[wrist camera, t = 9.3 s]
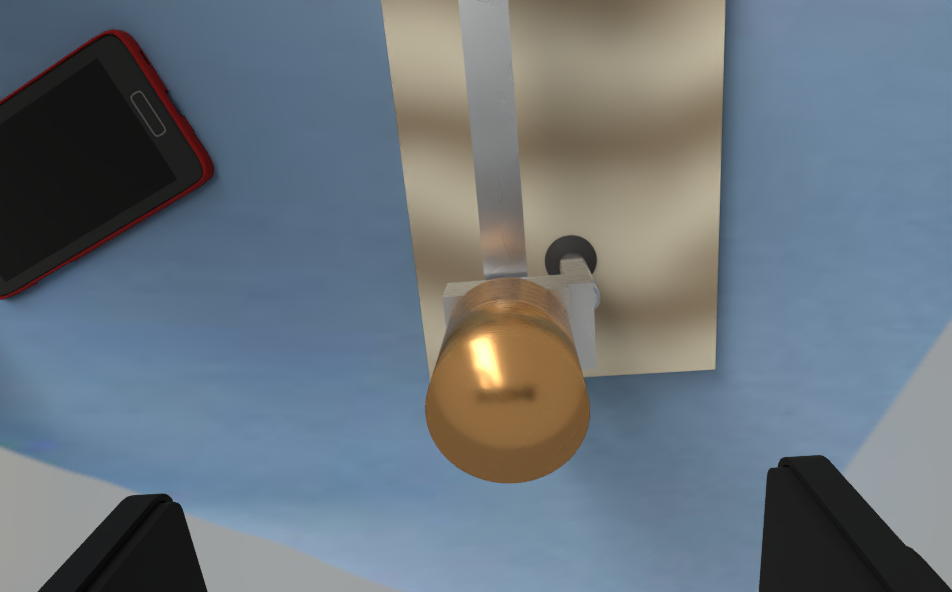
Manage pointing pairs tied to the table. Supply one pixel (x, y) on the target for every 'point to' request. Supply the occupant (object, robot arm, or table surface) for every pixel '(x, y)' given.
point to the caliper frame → (494, 135)
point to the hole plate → (578, 163)
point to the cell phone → (88, 158)
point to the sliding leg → (514, 373)
